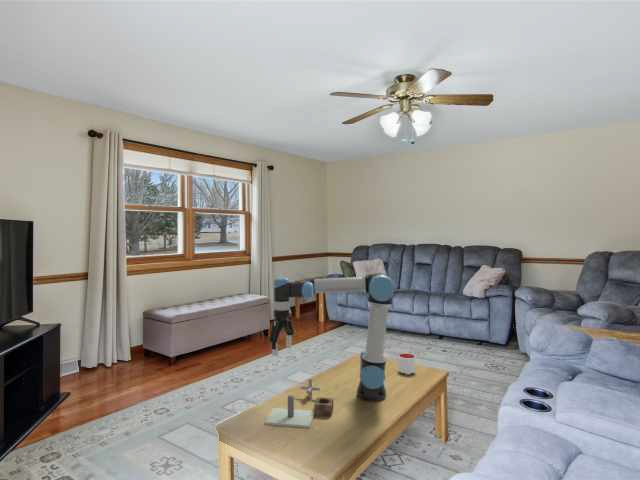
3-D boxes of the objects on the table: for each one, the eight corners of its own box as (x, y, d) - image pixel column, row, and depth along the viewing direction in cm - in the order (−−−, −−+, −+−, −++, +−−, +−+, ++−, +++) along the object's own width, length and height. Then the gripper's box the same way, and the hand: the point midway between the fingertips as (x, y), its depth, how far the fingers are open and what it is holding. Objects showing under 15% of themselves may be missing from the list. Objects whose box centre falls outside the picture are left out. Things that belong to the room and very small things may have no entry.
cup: (405, 368, 239) (405, 352, 239) (418, 372, 232) (418, 356, 231) (394, 371, 233) (394, 355, 233) (408, 376, 225) (408, 359, 225)
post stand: (314, 413, 178) (315, 391, 178) (309, 428, 165) (309, 405, 164) (273, 409, 181) (273, 389, 181) (265, 424, 167) (265, 401, 167)
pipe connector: (317, 403, 189) (317, 383, 189) (298, 401, 191) (298, 381, 191) (321, 394, 199) (321, 375, 199) (303, 393, 201) (303, 374, 201)
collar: (333, 408, 183) (333, 398, 183) (331, 416, 175) (331, 405, 175) (316, 407, 184) (316, 397, 184) (314, 415, 176) (314, 404, 176)
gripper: (287, 304, 202) (287, 344, 203) (261, 313, 180) (261, 358, 180) (300, 305, 199) (300, 345, 200) (275, 314, 177) (275, 360, 177)
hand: (282, 351), depth 190 cm, fingers open, 13 cm apart
